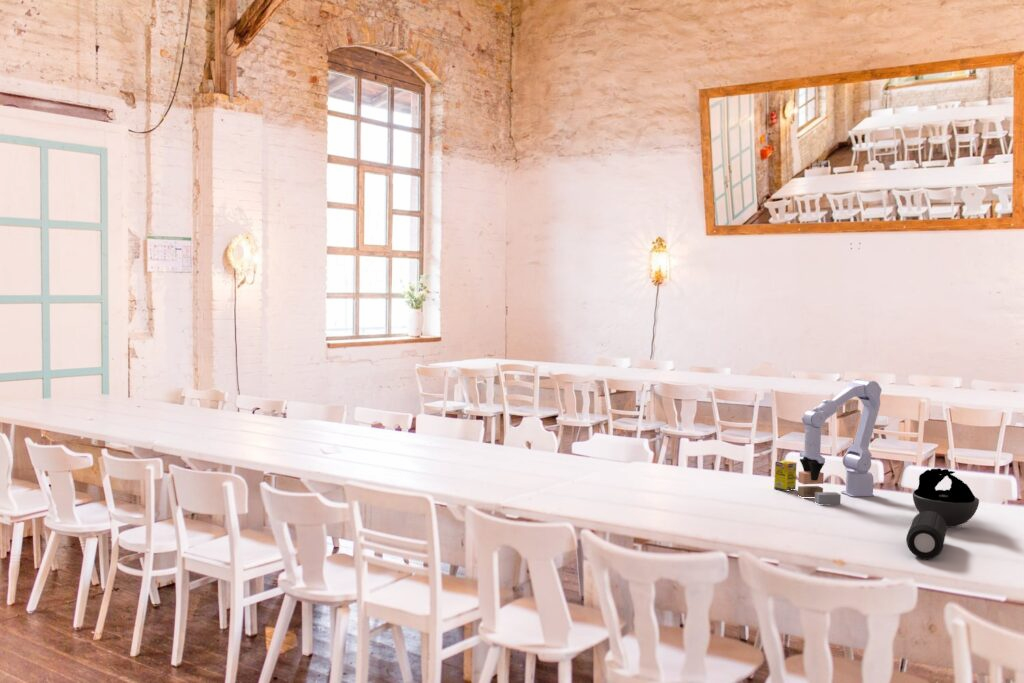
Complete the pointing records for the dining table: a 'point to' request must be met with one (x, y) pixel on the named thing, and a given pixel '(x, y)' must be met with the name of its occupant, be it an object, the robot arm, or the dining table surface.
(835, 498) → the slate-grey brick
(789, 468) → the supplement box
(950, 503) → the coal bowl
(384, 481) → the dining table surface
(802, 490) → the walnut brick
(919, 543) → the portable speaker
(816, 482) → the terracotta brick
